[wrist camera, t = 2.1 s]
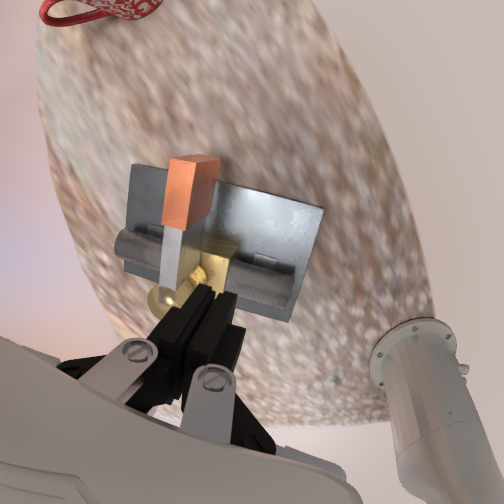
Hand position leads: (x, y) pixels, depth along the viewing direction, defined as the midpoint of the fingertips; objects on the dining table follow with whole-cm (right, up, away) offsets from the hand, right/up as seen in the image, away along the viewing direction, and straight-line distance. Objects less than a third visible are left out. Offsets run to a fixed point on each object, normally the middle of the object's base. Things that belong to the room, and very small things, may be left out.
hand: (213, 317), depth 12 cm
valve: (-3, +4, +21) cm, 22 cm away
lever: (-3, +5, +15) cm, 16 cm away
